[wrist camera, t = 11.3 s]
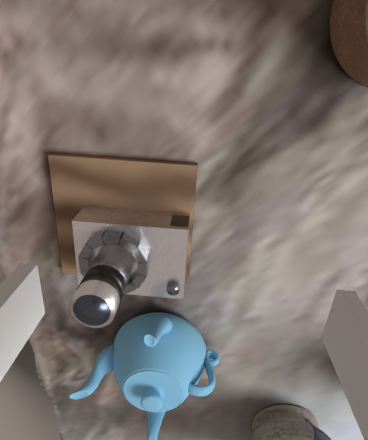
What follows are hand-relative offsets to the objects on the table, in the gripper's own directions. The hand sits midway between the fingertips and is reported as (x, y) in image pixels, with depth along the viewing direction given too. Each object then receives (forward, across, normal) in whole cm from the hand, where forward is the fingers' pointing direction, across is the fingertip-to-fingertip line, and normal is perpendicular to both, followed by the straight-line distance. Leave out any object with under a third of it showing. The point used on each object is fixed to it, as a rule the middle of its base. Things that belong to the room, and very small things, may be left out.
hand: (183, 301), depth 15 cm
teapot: (+32, -5, -35) cm, 48 cm away
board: (+32, -10, -12) cm, 35 cm away
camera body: (+30, -8, -15) cm, 35 cm away
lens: (+25, -10, -15) cm, 31 cm away
